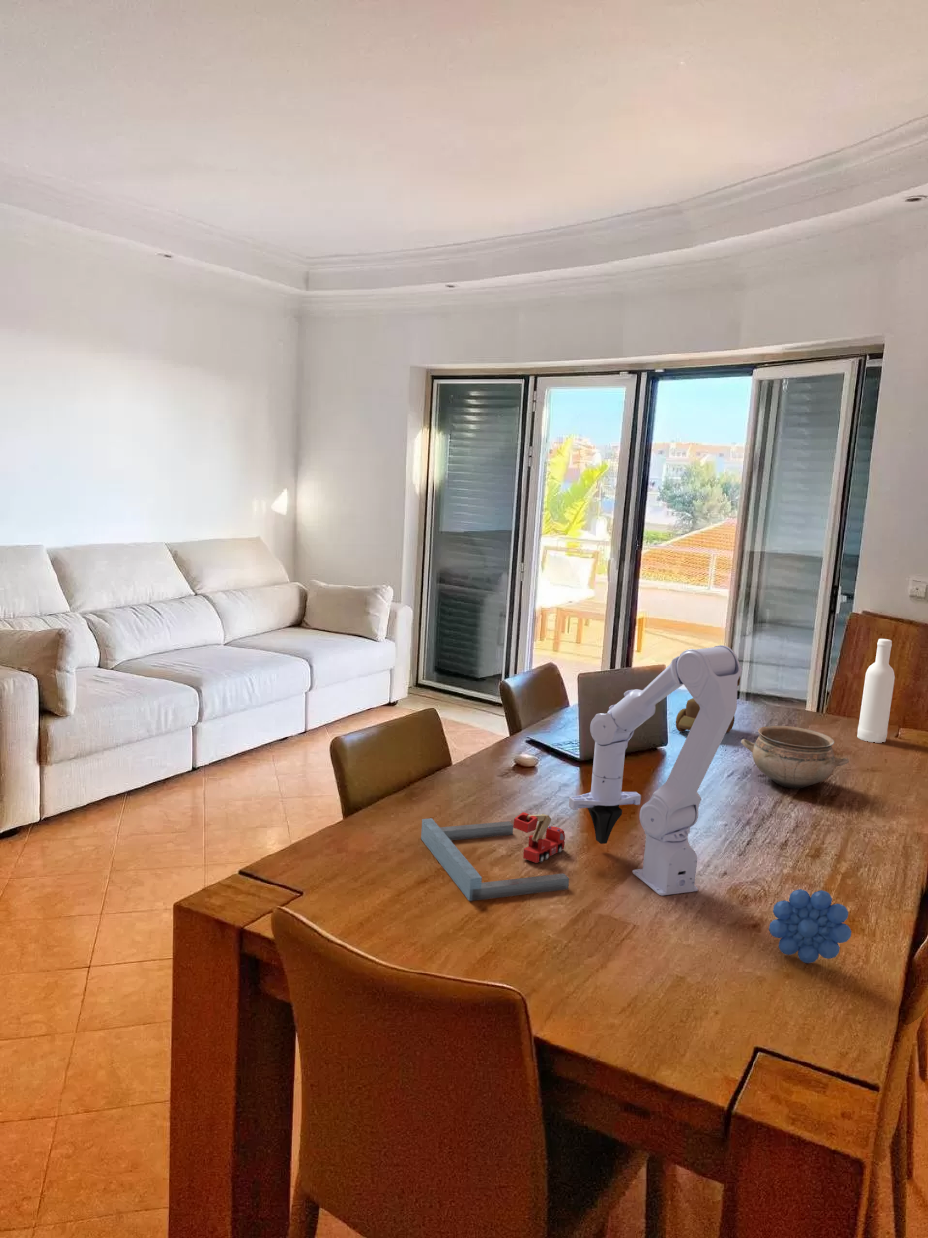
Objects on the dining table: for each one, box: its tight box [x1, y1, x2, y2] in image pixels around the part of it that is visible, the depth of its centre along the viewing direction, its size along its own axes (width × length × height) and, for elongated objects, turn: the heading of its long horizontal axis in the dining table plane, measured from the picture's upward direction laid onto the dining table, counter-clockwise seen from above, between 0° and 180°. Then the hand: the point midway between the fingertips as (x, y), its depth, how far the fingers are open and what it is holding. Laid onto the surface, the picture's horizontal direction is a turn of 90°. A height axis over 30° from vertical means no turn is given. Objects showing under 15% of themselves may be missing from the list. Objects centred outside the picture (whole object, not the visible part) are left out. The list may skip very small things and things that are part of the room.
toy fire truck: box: [512, 811, 566, 864], centre depth 167 cm, size 3×14×10 cm, turn 141°
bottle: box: [856, 638, 896, 744], centre depth 262 cm, size 8×8×30 cm
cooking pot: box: [740, 725, 850, 789], centre depth 218 cm, size 25×19×12 cm
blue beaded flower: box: [768, 888, 852, 964], centre depth 136 cm, size 12×7×12 cm, turn 56°
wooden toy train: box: [675, 676, 741, 734], centre depth 260 cm, size 20×11×17 cm, turn 140°
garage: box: [420, 817, 570, 902], centre depth 164 cm, size 26×18×4 cm
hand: (601, 841), depth 172 cm, fingers closed
